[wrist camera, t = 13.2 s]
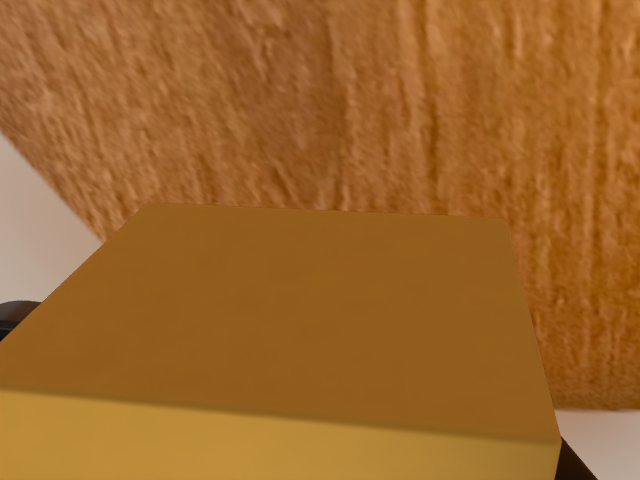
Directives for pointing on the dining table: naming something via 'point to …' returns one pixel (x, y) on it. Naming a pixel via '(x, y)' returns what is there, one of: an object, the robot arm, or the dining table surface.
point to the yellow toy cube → (282, 353)
